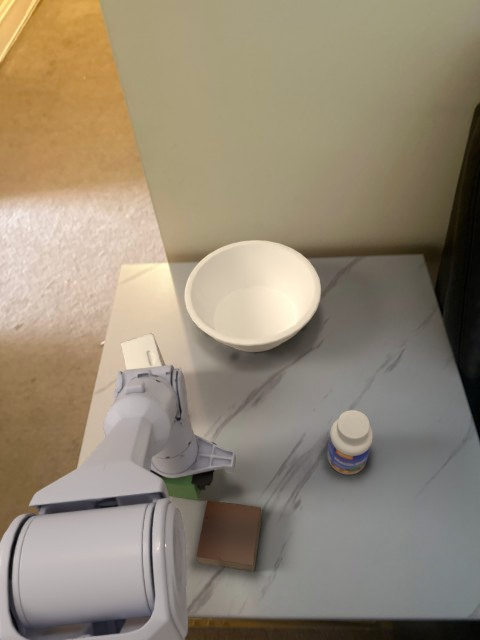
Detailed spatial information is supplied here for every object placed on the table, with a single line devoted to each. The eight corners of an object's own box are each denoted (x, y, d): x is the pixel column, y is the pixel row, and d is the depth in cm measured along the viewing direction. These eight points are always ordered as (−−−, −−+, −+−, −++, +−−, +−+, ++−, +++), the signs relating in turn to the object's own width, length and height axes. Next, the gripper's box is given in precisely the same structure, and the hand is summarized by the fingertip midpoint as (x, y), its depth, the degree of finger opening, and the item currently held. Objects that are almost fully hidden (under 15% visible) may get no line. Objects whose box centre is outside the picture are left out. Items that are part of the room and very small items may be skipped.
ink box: (138, 384, 87) (119, 340, 77) (169, 375, 88) (154, 330, 78) (149, 433, 82) (130, 392, 72) (182, 422, 82) (168, 380, 73)
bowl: (305, 386, 85) (306, 356, 78) (174, 361, 89) (165, 330, 83) (329, 282, 97) (331, 249, 90) (212, 265, 101) (207, 231, 95)
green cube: (199, 500, 74) (194, 487, 70) (166, 496, 74) (159, 483, 71) (205, 468, 76) (201, 454, 73) (173, 464, 77) (168, 450, 73)
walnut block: (254, 571, 69) (253, 565, 67) (199, 563, 70) (195, 556, 68) (262, 515, 73) (261, 507, 71) (209, 508, 74) (207, 500, 72)
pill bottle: (329, 476, 76) (334, 446, 68) (324, 439, 79) (328, 406, 71) (370, 474, 76) (379, 443, 68) (363, 437, 79) (371, 403, 71)
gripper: (236, 410, 65) (244, 458, 76) (117, 397, 67) (141, 446, 78) (225, 468, 61) (235, 510, 72) (99, 452, 63) (127, 495, 74)
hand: (185, 480), depth 75 cm, fingers closed on green cube, 4 cm apart
